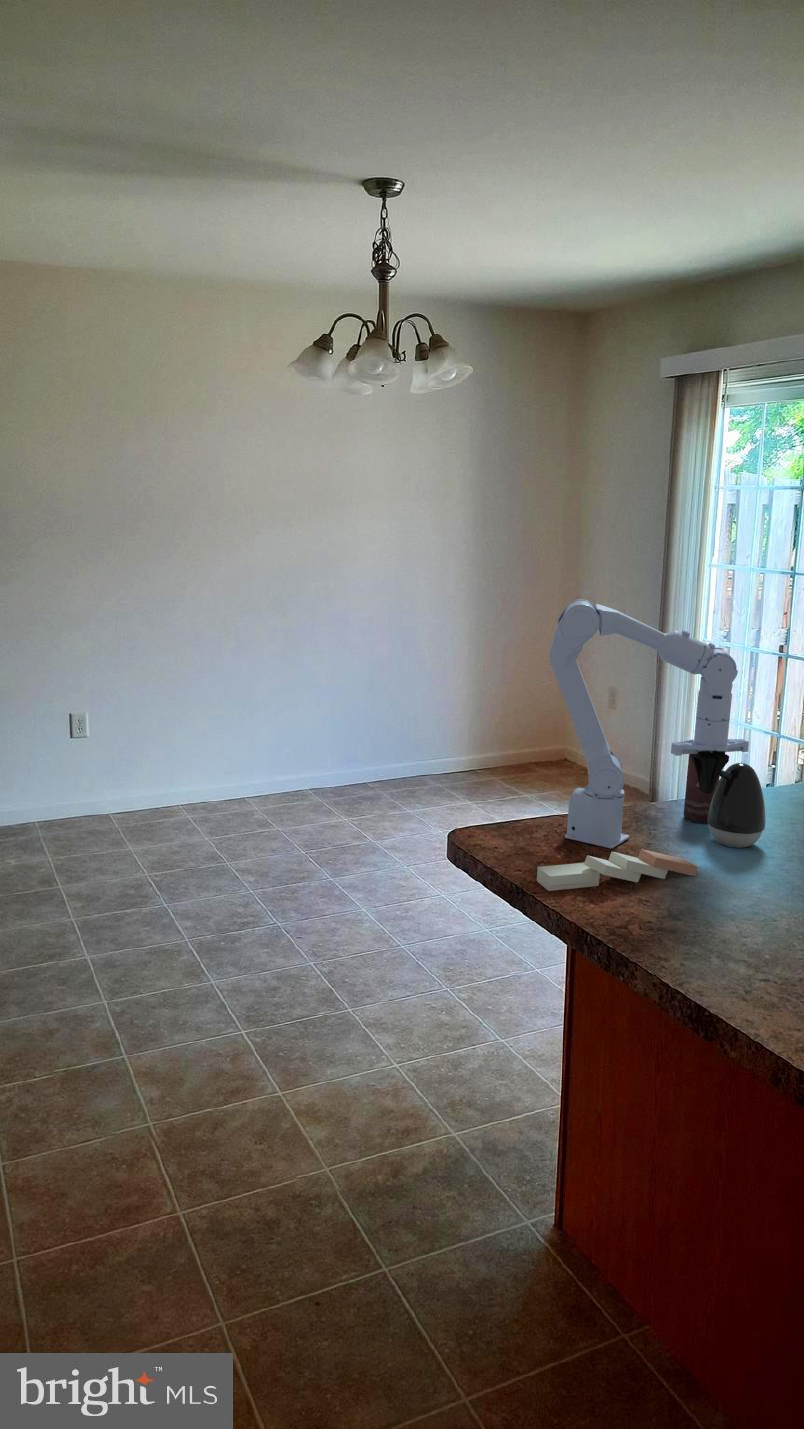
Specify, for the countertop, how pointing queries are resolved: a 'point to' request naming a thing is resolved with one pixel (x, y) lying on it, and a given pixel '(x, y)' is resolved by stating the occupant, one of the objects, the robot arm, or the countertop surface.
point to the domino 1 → (567, 874)
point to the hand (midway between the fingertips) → (705, 791)
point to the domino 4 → (636, 865)
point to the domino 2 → (567, 885)
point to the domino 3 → (611, 869)
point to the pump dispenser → (737, 807)
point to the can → (696, 797)
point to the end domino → (667, 862)
